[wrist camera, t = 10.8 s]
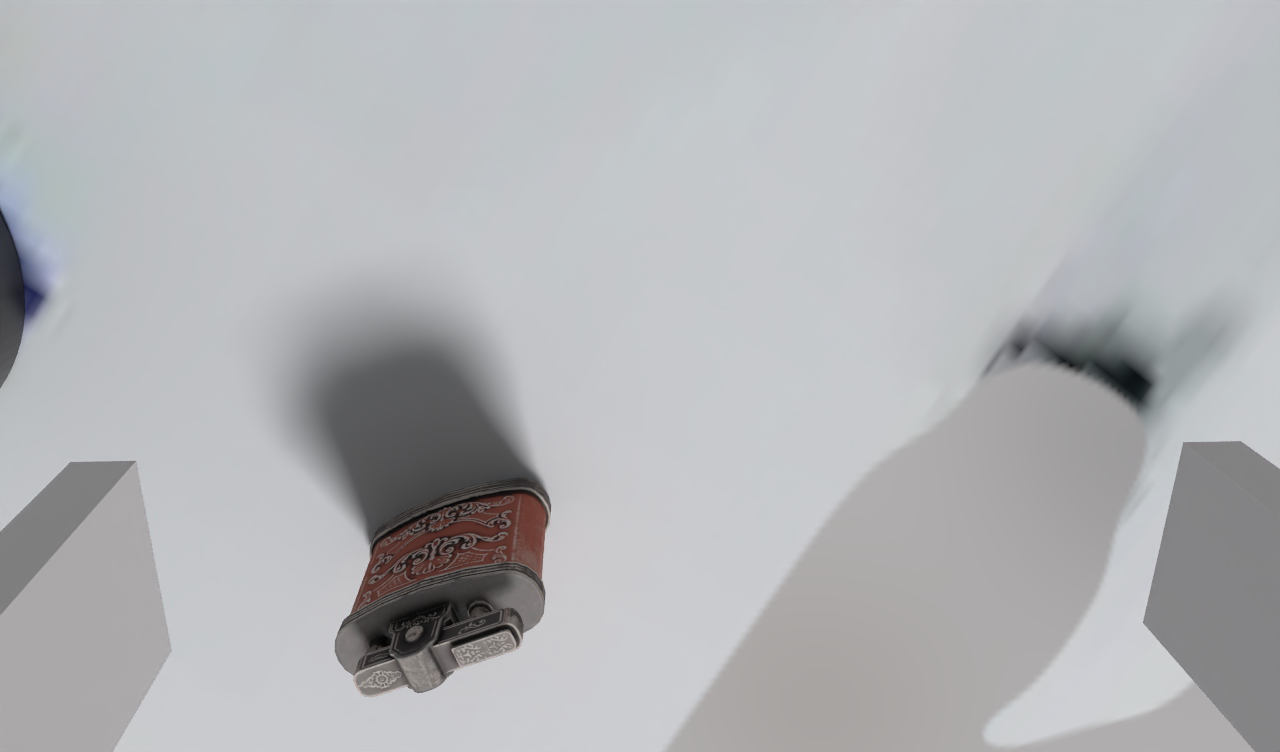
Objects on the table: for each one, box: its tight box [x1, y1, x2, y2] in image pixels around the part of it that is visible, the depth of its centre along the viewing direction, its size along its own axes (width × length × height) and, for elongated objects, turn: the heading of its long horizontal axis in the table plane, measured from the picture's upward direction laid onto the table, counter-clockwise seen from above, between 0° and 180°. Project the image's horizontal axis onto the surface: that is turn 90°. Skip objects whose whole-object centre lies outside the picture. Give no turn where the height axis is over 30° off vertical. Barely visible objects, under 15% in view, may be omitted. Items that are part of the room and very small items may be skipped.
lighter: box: [335, 478, 551, 697], centre depth 40 cm, size 8×3×10 cm, turn 110°
